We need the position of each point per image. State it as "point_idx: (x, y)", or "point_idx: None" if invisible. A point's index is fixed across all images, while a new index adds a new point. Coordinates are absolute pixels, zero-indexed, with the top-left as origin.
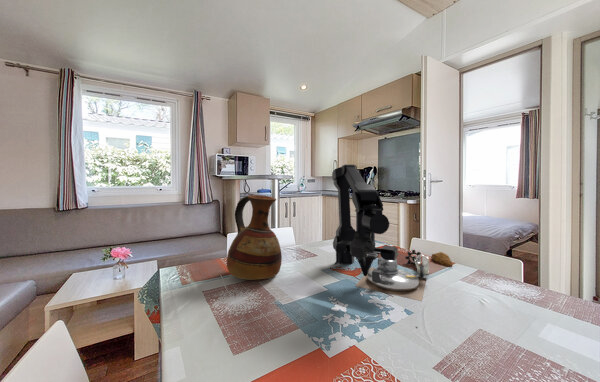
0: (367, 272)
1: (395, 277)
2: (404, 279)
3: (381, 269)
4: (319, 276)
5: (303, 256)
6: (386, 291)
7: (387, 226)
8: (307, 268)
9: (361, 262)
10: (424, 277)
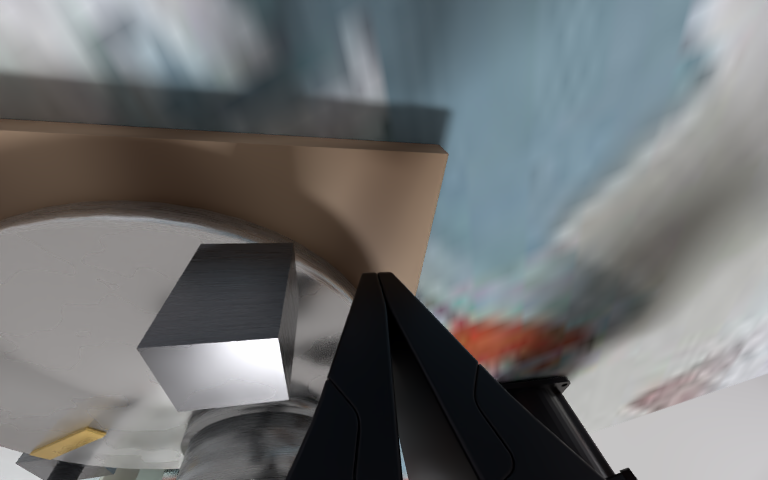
0: (350, 309)
1: (151, 389)
2: (63, 394)
3: (285, 426)
4: (685, 228)
5: (697, 375)
6: (124, 175)
7: None
8: (725, 288)
9: (498, 448)
10: (33, 463)
